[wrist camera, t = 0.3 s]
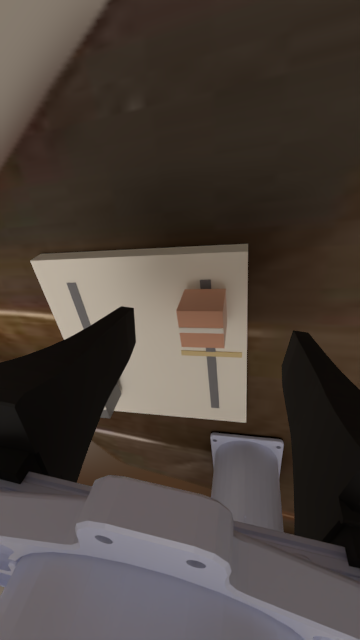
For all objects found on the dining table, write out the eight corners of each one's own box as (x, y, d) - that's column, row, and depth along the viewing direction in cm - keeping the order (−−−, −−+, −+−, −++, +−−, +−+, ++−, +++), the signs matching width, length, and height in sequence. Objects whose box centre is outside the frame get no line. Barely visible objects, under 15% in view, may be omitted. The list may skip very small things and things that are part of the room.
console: (246, 410, 30) (246, 423, 29) (99, 398, 34) (93, 409, 33) (248, 243, 20) (248, 252, 19) (41, 253, 24) (29, 261, 23)
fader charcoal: (121, 393, 29) (109, 418, 27) (95, 391, 30) (81, 416, 28) (114, 372, 28) (101, 397, 25) (86, 371, 28) (71, 394, 26)
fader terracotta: (227, 323, 22) (224, 349, 19) (188, 322, 23) (181, 347, 20) (225, 288, 20) (222, 311, 18) (184, 289, 21) (175, 311, 19)
